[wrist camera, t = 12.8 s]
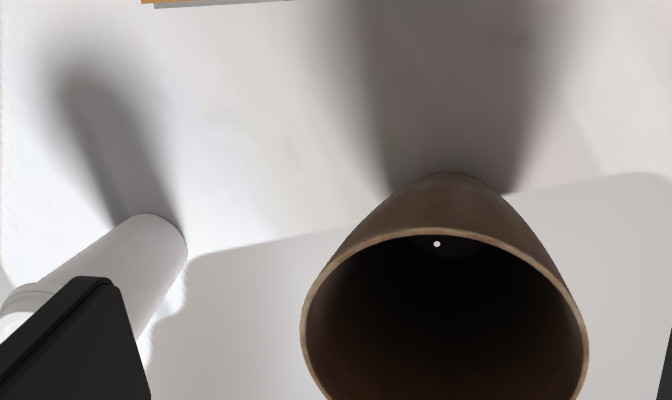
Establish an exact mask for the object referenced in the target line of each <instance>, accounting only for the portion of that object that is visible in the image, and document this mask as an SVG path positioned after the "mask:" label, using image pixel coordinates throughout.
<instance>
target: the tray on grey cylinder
mask: <svg viewBox="0 0 672 400" xmlns="http://www.w3.org/2000/svg"><path fill="white" fill-rule="evenodd" d="M275 1H292V0H141V4H146V3H153V4H154V8H155V9H158V8H175V7H192V6H209V5H225V4H242V3H259V2H275Z"/></svg>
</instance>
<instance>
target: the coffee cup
mask: <svg viewBox="0 0 672 400" xmlns="http://www.w3.org/2000/svg"><path fill="white" fill-rule="evenodd" d="M186 260H187V246H186V243H185V240H184V238H183V236H182V235H181V233H180V232H179V231H178V229H177V228H176V227H175V226H174V225H172V224H171V223H170V222H169V221H167V220H165V219H164V218H162V217H159V216H157V215H153V214H146V213H143V214H137V215H134V216H132V217H130V218H128V219H127V220H125V221H124V222H123V223H121V224H120V225H118V226H117V227H115V228H114V229H113V230H111V231H110V232H108V233H107V234H106V235H104V236H103V237H101V238H100V239H98V240H97V241H96V242H94V243H93V244H91V245H90V246H88V247H87V248H86V249H84V250H83V251H81V252H80V253H78V254H77V255H76V256H74V257H73V258H71V259H70V260H68V261H67V262H66V263H64V264H63V265H61V266H60V267H58V268H57V269H55V270H54V271H53V272H51V273H50V274H48V275H47V276H45V277H44V278H42V279H41V280H39V281H38V282H35V283H29V284H25V285H22V286H20V287H18V288H16V289H15V290H14V291H12V292H11V293H10V294H9V296H8V297H7V299H6V300H5V302H4V303H3V305H2V307H1V309H0V344H1V343H2V342H3V341H4V340H5V339H7V338H8V337H9V336H10V335H11V334H12V333H13V332H14V331H15V330H16V329H17V328H19V327H20V326H21V325H22V324H23V323H24V322H25V321H26V320H27V319H28V318H29V317H31V316H32V315H33V314H34V313H35V312H36V311H37V310H38V309H39V308H40V307H41V306H43V305H44V304H45V303H46V302H47V301H48V300H49V299H50V298H51V297H52V296H53V295H55V294H56V293H57V292H58V291H59V290H60V289H61V288H62V287H63V286H64V285H65V284H66V283H68V282H69V281H70V280H71V279H72V278H74V277H75V276H96V277H106V278H109V279H110V280H111V281H112V282H113V284H114V286H117V287H118V288H119V289H120V291H121V294H122V297H123V301H124V304H125V307H126V311H127V314H128V318H129V321H130V324H131V328H132V331H133V335H134V338H135V341H137V339H138V338H139V336H140V335H141V333H142V331H143V330H144V328H145V327H146V325H147V323H148V322H149V320H150V319H151V317H152V315H153V314H154V312H155V311H156V309H157V308H158V306H159V304H160V303H161V301H162V300H163V298H164V296H165V295H166V293H167V292H168V290H169V289H170V287H171V285H172V284H173V282H174V281H175V279H176V278H177V276H178V274H179V273H180V271H181V270H182V268H183V266H184V265H185V263H186Z"/></svg>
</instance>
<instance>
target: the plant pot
mask: <svg viewBox="0 0 672 400" xmlns="http://www.w3.org/2000/svg"><path fill="white" fill-rule="evenodd" d="M435 241H438V242H440V246H439V247H435V246H434V242H435ZM300 343H301V348H302V352H303V356H304V359H305V362H306V365H307V367H308V370H309V372H310V374H311V376H312V378H313V380H314V381H315V383H316V385H317V386H318V388H319V389H320V391H321V392H322V393H323V395H324V396H325V397H326V398H327V399H328V400H576V398H577V396H578V394H579V393H580V391H581V389H582V386H583V384H584V381H585V377H586V374H587V370H588V363H589V342H588V335H587V330H586V327H585V324H584V321H583V318H582V316H581V313H580V311H579V309H578V307H577V305H576V303H575V301H574V299H573V297H572V295H571V293H570V292H569V289H568V288H567V286H566V284H565V282H564V280H563V278H562V277H561V275H560V273H559V271H558V269H557V268H556V266H555V264H554V262H553V261H552V259H551V257H550V256H549V254H548V253H547V251H546V249H545V248H544V246H543V245H542V243H541V242H540V240H539V239H538V238H537V236H536V235H535V233H534V232H533V231H532V230H531V228H530V227H529V226H528V225H527V223H526V222H525V221H524V220H523V218H522V217H521V216H520V215H519V214H518V213H517V212H516V211H515V210H514V208H513V207H512V206H511V205H510V204H509V203H508V202H506V200H504V199H503V198H502V197H501V196H500V195H499V194H498V193H496V192H495V191H494V190H492V189H491V188H490V187H488V186H487V185H485V184H484V183H482V182H480V181H479V180H477V179H475V178H473V177H471V176H468V175H466V174H462V173H456V172H441V173H436V174H432V175H429V176H426V177H423V178H421V179H419V180H416V181H414V182H412V183H410V184H409V185H407V186H405V187H403V188H402V189H400V190H399V191H397V192H396V193H394V194H393V195H391V196H390V197H389V198H387V199H386V200H385V201H384V202H382V203H381V204H380V205H379V206H378V207H377V208H375V209H374V210H373V211H372V212H371V213H370V214H369V215H368V216H367V217H366V218H365V219H364V220H363V221H362V222H361V223H360V224H359V225H358V226H357V227H356V228H355V229H354V230H353V231H352V233H351V234H350V235H349V236H348V237H347V238H346V239H345V241H344V242H343V243H342V244H341V246H340V247H339V249H338V250H337V251H336V252H335V254H334V255H333V256H332V258H331V259H330V261H329V262H328V263H327V264H326V266H325V267H324V269H323V270H322V272H321V273H320V274H319V276H318V277H317V279H316V280H315V282H314V283H313V285H312V286H311V288H310V290H309V292H308V294H307V296H306V299H305V302H304V305H303V308H302V314H301V320H300Z"/></svg>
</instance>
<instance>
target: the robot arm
mask: <svg viewBox="0 0 672 400" xmlns="http://www.w3.org/2000/svg"><path fill="white" fill-rule="evenodd" d="M0 400H151V393H150V389H149V386H148V382H147V379H146V375H145V372H144V369H143V365H142V362H141V358H140V355H139V352H138V348H137V345H136V341H135V338H134V335H133V331H132V328H131V324H130V321H129V318H128V314H127V311H126V307H125V304H124V301H123V297H122V294H121V291H120V289H119V288H118V287H117V286H114V284H113V282H112V281H111V280H110V279H109V278H106V277H96V276H75V277H74V278H72V279H71V280H70V281H69V282H68V283H66V284H65V285H64V286H63V287H62V288H61V289H60V290H59V291H58V292H57V293H56V294H55V295H53V296H52V297H51V298H50V299H49V300H48V301H47V302H46V303H45V304H44V305H43V306H41V307H40V308H39V309H38V310H37V311H36V312H35V313H34V314H33V315H32V316H31V317H29V318H28V319H27V320H26V321H25V322H24V323H23V324H22V325H21V326H20V327H19V328H17V329H16V330H15V331H14V332H13V333H12V334H11V335H10V336H9V337H8V338H7V339H5V340H4V341H3V342H2V343H1V344H0ZM656 400H672V329H671V333H670V338H669V342H668V347H667V352H666V356H665V361H664V366H663V370H662V375H661V379H660V384H659V389H658V393H657V399H656Z"/></svg>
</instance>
